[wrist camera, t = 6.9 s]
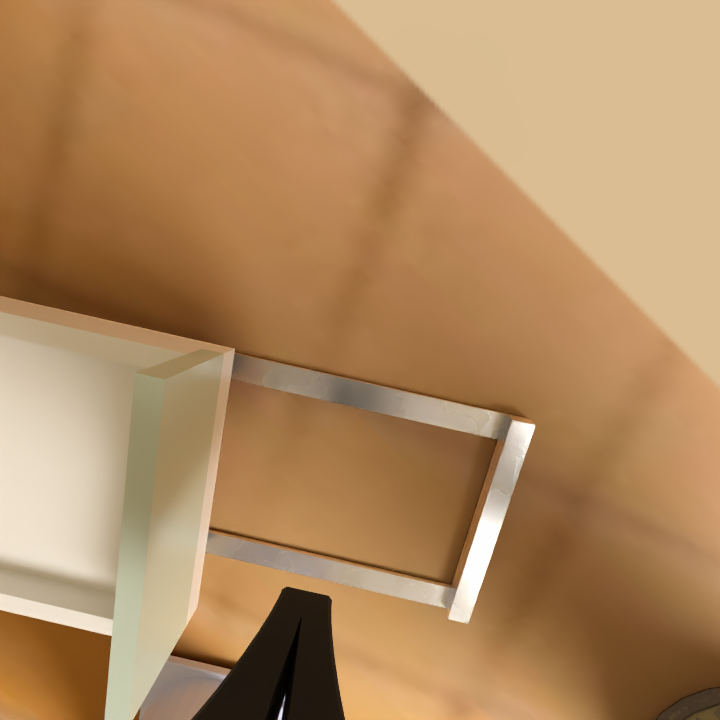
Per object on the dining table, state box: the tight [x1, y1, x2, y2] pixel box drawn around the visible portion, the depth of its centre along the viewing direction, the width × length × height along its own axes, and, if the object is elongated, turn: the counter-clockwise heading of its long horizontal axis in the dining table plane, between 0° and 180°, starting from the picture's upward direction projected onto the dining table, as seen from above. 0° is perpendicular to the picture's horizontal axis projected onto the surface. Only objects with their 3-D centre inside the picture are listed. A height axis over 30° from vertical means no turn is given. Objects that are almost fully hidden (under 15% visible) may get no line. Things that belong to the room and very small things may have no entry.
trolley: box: [0, 296, 235, 720], centre depth 14 cm, size 12×12×7 cm
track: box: [205, 353, 536, 624], centre depth 17 cm, size 10×26×1 cm, turn 78°
